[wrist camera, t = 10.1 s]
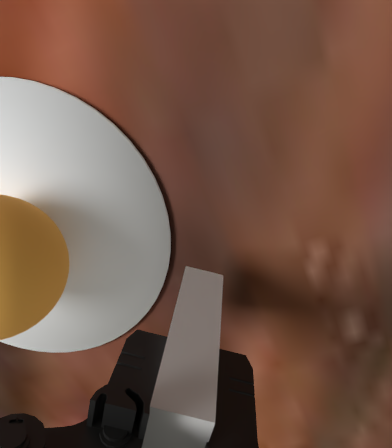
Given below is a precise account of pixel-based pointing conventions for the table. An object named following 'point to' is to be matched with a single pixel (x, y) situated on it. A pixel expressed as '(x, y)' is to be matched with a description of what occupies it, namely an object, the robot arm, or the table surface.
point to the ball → (29, 265)
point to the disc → (85, 213)
